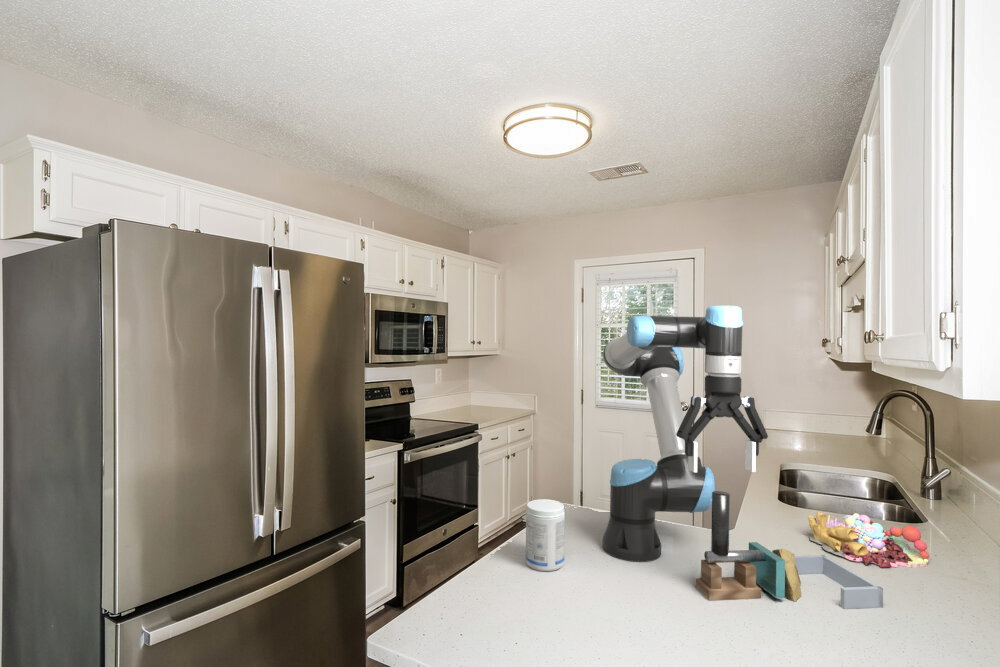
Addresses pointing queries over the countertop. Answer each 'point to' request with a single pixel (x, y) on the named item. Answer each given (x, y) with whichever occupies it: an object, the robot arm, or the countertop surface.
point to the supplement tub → (545, 534)
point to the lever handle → (764, 560)
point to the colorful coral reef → (868, 541)
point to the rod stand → (728, 582)
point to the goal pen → (843, 581)
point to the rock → (790, 575)
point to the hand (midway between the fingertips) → (721, 470)
